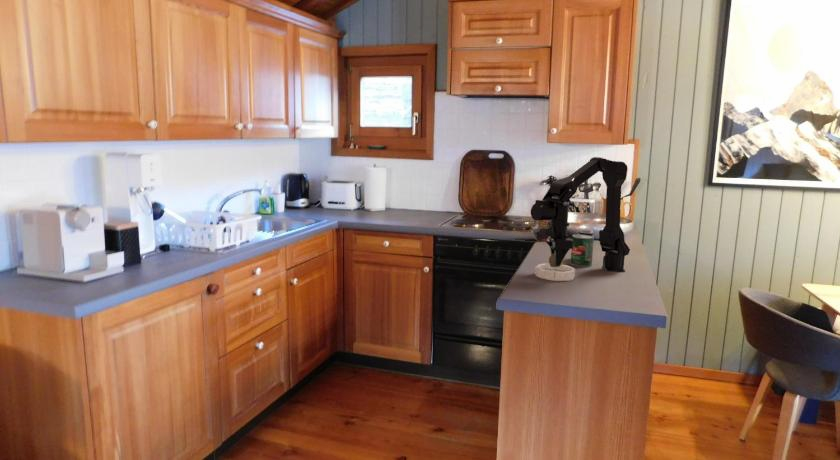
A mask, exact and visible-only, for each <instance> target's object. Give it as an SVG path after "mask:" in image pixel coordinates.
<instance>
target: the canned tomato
mask: <svg viewBox="0 0 840 460" xmlns="http://www.w3.org/2000/svg"><path fill="white" fill-rule="evenodd" d="M571 237H572V239H571V240H572V242H573V243H574V248H573V249H570V251H571V252H570V253H571V254H570V265H572V266H575V267H580V268H581V267H582V268H590V267H592V266H593V254H594V242H595V241H594V240H595V237H594V235H593V236H590V235H582V234H578V233H577V234H572V236H571Z"/></svg>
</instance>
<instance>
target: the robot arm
mask: <svg viewBox="0 0 840 460" xmlns="http://www.w3.org/2000/svg"><path fill="white" fill-rule="evenodd" d="M628 170H629V169H628V165H627V164H626V163H625V161H619V160H617V161H616V160H610V159H606V158H604V157H597V156H593V157H591V158H590V159H589V160H588V161H587V162H586V163H584V164H583V165H582V166H581V167H579V168H578V169H577V170H576V171H574V172H572V173H571V174H570V175H569V176H567V177H563V178H560V179H557V180H555V181H553V182H551V184H550V185H549V188H548V190H547V191H546V193H545V195H544V197H543V198H542V199H536V200H535V202H534V204H533V205H532V206H531V209H530V217H531V218H532V220H534V221H539V220H550V221H549V222H548V225H547V226H544V227H540V228H538V227H537V228H535V229H532V234H533V235H532V236H533V237H534V240H535V241H536V242H538V241H541V239H544V240H546V238H547V241H544V243H546V245H548V247H549V250H550V256H551V255H552V254H553V253H555V260H556V266H560V264H561V262H562V260H563V261H564V259H565V257H566V256H567V254H568V252H569V250H572V249H573V248H574V243H573V242H572V239H571V238H569V235H568V227H570V223H569V222H568V220H569V219H568V218H569V207H573V206H574V202H572V201H571V198H573V196H574V195H575V194H576V193H577V191H578V188H579V187H580V186H581V185H583V184H584V183H585V182H587V181H588V180H589V179H591V178H592V177H593V176H595V174H597V173H598V172H600V173H601V175H602V180H603V182H604V184H605V186H606V197H605V198H606V200H605V225H604V227H603V228H602V230H601V229H599V231H598V233H599V234H598V236H599V237H598V242H599V245H600V247H601V252H604V256H603V257H602V266H601V267H602V268H603V269H604V270H606V271H607V272H626V269H624V267H625V259H626V258H625V257H626V256H629V254H630V252H631V249H630V247H629V246H628V244H627V243H626V240H625V233H624V231H623V228H622V226H621V207H622V206H621V205H622V186H623V185H624V183H625V181H626V180H627V175H628Z"/></svg>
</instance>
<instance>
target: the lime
mask: <svg viewBox="0 0 840 460" xmlns="http://www.w3.org/2000/svg"><path fill="white" fill-rule="evenodd" d="M563 263H564V259H563V260H562V262H561V264H560V266H561V265H563ZM548 264H550V266H551V267H559V266H556V260H555V253H553V254H552V255H551V254H550V256H549V257H548Z"/></svg>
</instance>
